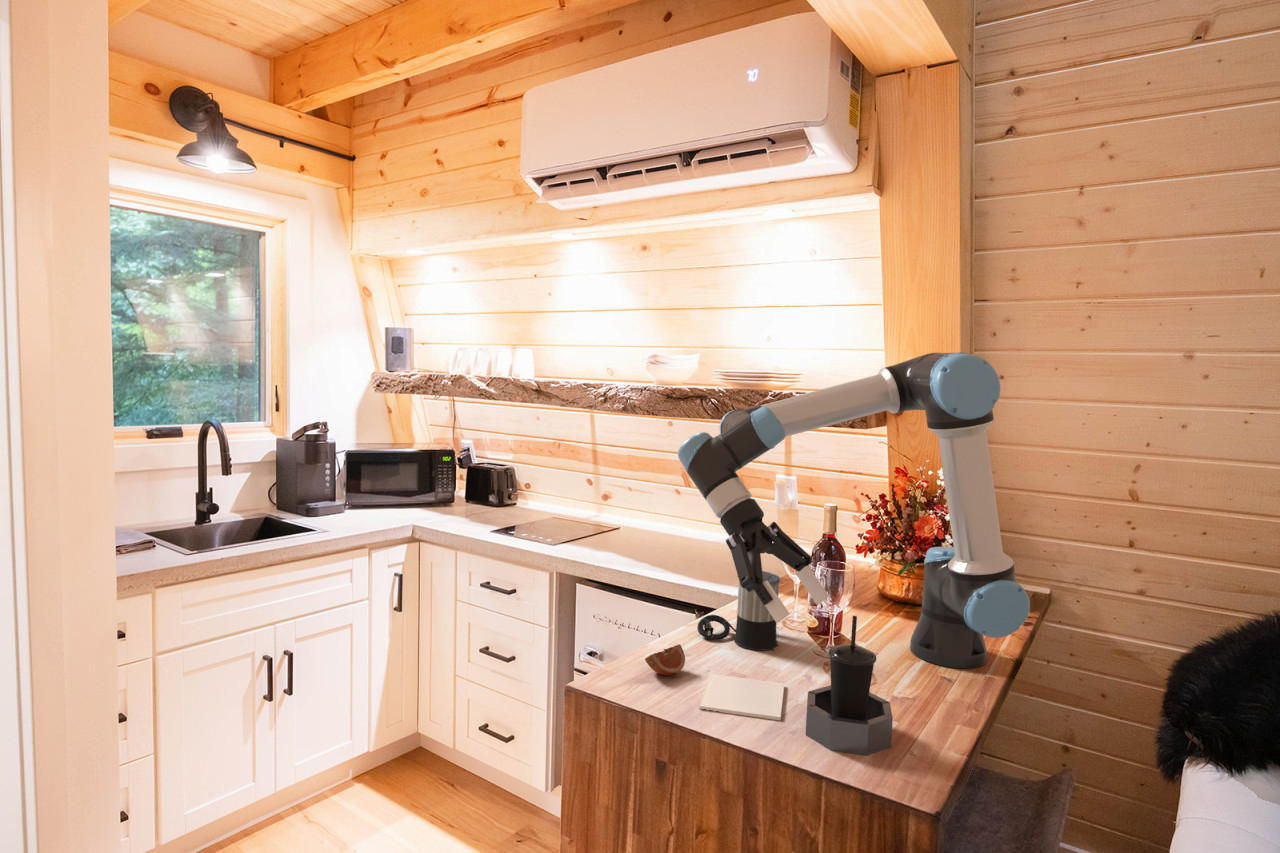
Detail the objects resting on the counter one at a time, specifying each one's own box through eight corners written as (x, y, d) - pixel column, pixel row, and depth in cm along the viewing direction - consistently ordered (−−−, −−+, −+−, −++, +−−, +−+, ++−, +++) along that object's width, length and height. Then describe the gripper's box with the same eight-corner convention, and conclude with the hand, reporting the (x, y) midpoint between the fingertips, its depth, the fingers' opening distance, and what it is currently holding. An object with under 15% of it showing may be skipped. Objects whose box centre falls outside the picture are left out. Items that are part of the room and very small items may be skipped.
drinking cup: (820, 738, 127) (827, 619, 125) (827, 718, 134) (834, 605, 132) (868, 748, 124) (876, 627, 122) (873, 727, 131) (881, 613, 129)
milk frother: (784, 649, 164) (788, 581, 163) (715, 655, 160) (718, 585, 158) (756, 626, 178) (759, 563, 176) (691, 630, 173) (694, 566, 172)
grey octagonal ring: (885, 720, 134) (887, 692, 133) (892, 759, 121) (895, 728, 120) (806, 709, 137) (808, 682, 136) (805, 746, 124) (806, 716, 123)
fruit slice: (660, 685, 145) (661, 659, 144) (636, 673, 150) (636, 648, 149) (691, 673, 150) (692, 648, 150) (666, 662, 155) (667, 638, 155)
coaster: (784, 686, 146) (784, 683, 146) (780, 720, 132) (780, 717, 132) (710, 676, 149) (710, 673, 149) (699, 709, 135) (699, 705, 135)
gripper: (759, 511, 152) (824, 604, 144) (681, 530, 134) (749, 638, 125) (785, 488, 148) (852, 583, 140) (707, 505, 130) (780, 615, 121)
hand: (804, 609), depth 133 cm, fingers open, 13 cm apart
